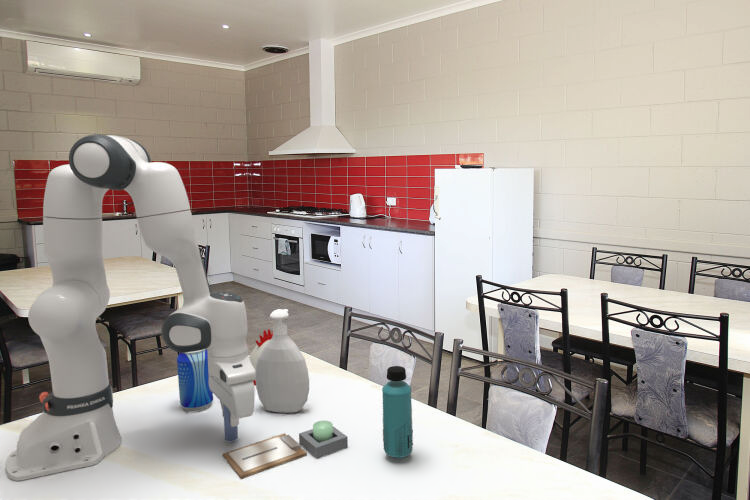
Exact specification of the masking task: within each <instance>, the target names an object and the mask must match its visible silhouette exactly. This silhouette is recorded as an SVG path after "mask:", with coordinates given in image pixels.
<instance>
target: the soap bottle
mask: <svg viewBox="0 0 750 500" xmlns="http://www.w3.org/2000/svg"><path fill="white" fill-rule="evenodd" d="M289 316H290V315H289V309H287V308H286V309H285V308H284V309H282V308H281V309H280V308H278V309H274V310H273V311H272V312H271V313H270V315H269V319H273V320H276V323H275V324H273V326H272V331H273V336H272V339H271V340H270V341H269V342H268V343H267V344H266V346H265V347H264V349H263V350H262V352H261V353H260V355H259V357H258V361H257V366H256V386H255V389H256V392H257V395H258V396H257V397H258V400H259V402H260V403H261V405H262V406H263V408H264V409H266V410H267V411H268V412H273V413H283V414H285V413H286V414H293V413H295V414H296V413H298V412H300V411H301V410H302V409H303V408H304V406H305V405H306V403H307V402H308V397H309V393H310V376H309V371H308V370H309V369H308V366H307V362H306V359H305V356H304V355H303V354H302V352H301V350H300V348H299V347H298V345H297V344H296V342H294V341H293V340H292V339H291V338H290V336H289V335H288V325H286V323H283V319H287V318H289Z"/></svg>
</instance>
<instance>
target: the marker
mask: <svg viewBox="0 0 750 500" xmlns="http://www.w3.org/2000/svg"><path fill="white" fill-rule="evenodd" d="M223 411H224V417H223V429H224V430H223V431H224V433H223V434H224V441H226V442H228V443H229V442H235V441H237V440H238V439H239V425H237V426H234V427H232V426H231V425H230V424H229V417H230V414H231V413H230V410H229V409H228V408H227V407H226V406H225V405H224V404H223Z"/></svg>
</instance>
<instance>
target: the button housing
mask: <svg viewBox="0 0 750 500" xmlns="http://www.w3.org/2000/svg"><path fill="white" fill-rule="evenodd" d="M298 438H299V439H298V441H299V442H298V443H299V444H300V445H301V447H302V448H304V449H305V451H306V452H308V453H309V454H310V455H311V456H313V457H314V458H315V459H319V458H322V457H324V456H328V455H330V454H333V453H336V452H338V451H341V450H343V449H346V448H347V449H348V447H349V446H348V445H349V444H348V443H349V441H348V440H349V439H348V436H347V435H346V434H344V433H343V432H342V431H340V430H338V429H337V428H336V427H335V426H333V438H331V439H328V440H326V441H323V442H320V443H318V442H317V441H316V440H315V439H313V428H311V429H308V430H305V431H302V432H299V433H298Z"/></svg>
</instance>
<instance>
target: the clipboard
mask: <svg viewBox="0 0 750 500" xmlns="http://www.w3.org/2000/svg"><path fill="white" fill-rule="evenodd" d="M307 452H308V451H306V450H304V449H303V447H302V446H301V445H300V444H299V442H298V441H297V440H295V439H294V438H293V437H292V436H291V435H290V434H286V433H281V434H279V435H276V436H272V437H270V438H269V437H268V438H266V439H263V440H260V441H257V442H253V443H249V444H247V445H245V446H241V447H239V448H236V449H235V448H234V449H232V450H230V451H229V450H228V451H226V452H223V453H221V454H222V456H221V457H223V458H224V460H225V461H226V462H227V464H229V466H230V467H231V468H232V469H233V471H234V472H235V473H236V474H237V475H238V477H239V478H240V479H244V478H245V479H246V478H248V477H250V476H253V475H255V474H256V475H257V474H258V473H261V472H264V471H267V470H270V469H273V468H275V467H278V466H281V465H283V464H287V463H290V462H293V461H294V460H297V459H300V458H303V457H307V456H308V453H307Z"/></svg>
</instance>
